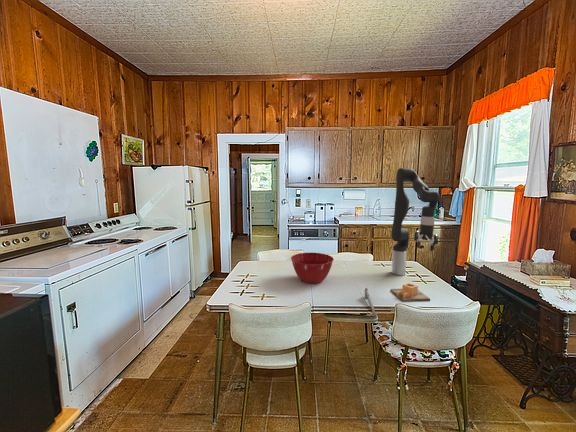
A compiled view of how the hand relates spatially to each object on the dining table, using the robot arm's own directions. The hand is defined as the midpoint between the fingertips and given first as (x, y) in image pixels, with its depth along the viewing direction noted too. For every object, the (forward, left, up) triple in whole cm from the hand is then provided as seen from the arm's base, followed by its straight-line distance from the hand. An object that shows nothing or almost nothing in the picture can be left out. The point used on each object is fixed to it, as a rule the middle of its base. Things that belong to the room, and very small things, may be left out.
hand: (424, 249), depth 182 cm
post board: (+10, -13, -25) cm, 30 cm away
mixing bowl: (-21, -66, -25) cm, 74 cm away
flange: (+11, -16, -24) cm, 31 cm away
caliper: (+20, -41, -25) cm, 53 cm away
